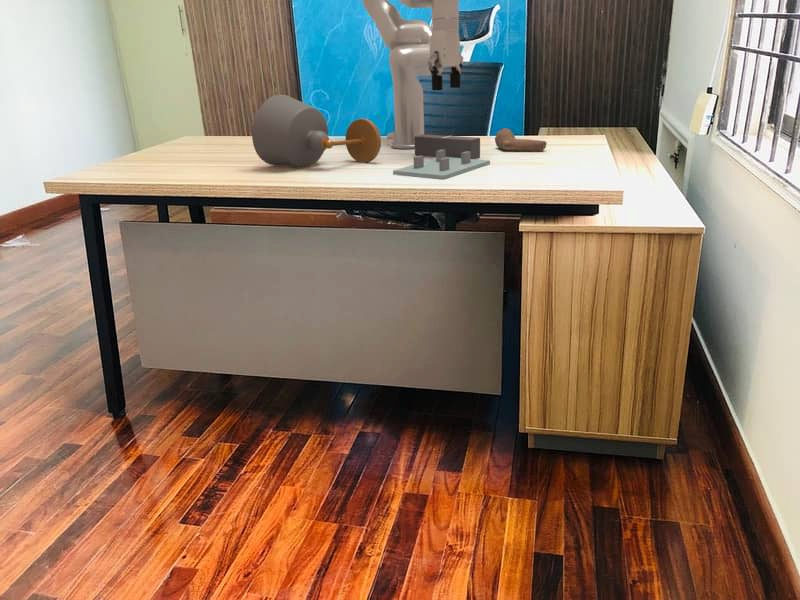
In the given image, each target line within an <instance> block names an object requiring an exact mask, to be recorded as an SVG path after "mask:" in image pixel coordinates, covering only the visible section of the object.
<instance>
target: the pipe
mask: <svg viewBox="0 0 800 600" xmlns="http://www.w3.org/2000/svg"><path fill="white" fill-rule="evenodd" d="M494 141H495V145H496V147H497V148H498V149H501V150H502V151H505V152H528V153H529V152H532V153H533V152H534V153H535V152H536V153H542V152H543V151H544V150H546V146H547V141H545V140H537V139H530V138H529V139H526V138H516V136H515V134H514V133H513V131H512V130H511V129H509V128H507V127H506V128H505V127H504V128H502V129H500V130H498V131H497V133H496V135H495V137H494Z"/></svg>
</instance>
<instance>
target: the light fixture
mask: <svg viewBox="0 0 800 600" xmlns="http://www.w3.org/2000/svg"><path fill="white" fill-rule="evenodd" d="M251 129H252V130H251V136H252V137H251V138H252V144H253V148H254V150H255V152H256V154H257V156H258V157H259V158H260V159H261V160H262V161H263V162H264V163H265V164H268V165H272V166H278V165H279V167H287V166H288V167H287V168H289V167H290V168H297V169H306V167H307V168H309V167H312V166H314V165H315V164H316V163H318V161H319V160H320V159H321V158H322V156H323V154H324V152H325V151H326V150H327V149H332V148H333V147H334V146H335V147H336V146H346V150H347V152H348V154H349V156H350V157H351V158H352V159H353V160H355V161H356V162H358V163H361V162H365V163H370V162H372V161H374V160H375V159H376V158H377V156H378V155H379V153H380V150H381V147H382V145H381V144H382V139H381V134H380V131H379V128H378V127H377V126H376V124H375V123H374V122H373V121H372V120H369V119H368V118H357V119H355V120H353V121H352V122H350V124H349V125H348V127H347V129H346V133H345V140H336V141H333V140H331V139H330V137H329V127H328V122H327V119H326V118H325V116H324V115H323V113H322V112H321V111H320V110H319V109H318V108H315V107H313V106H311V105H309V104H307V103H304V102H303V101H300V100H298V99H296V98H294V97H291V96H290V95H288V94H287V95H286V94H274V95H272V96H271V97H269V98H267V99H266V100H265V101H264V102H263V103H262V104H261V105H260V107H259V108H258V110H257V111H256V114H255V116H254V120H253V124H252V128H251Z"/></svg>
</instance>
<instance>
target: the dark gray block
mask: <svg viewBox="0 0 800 600" xmlns="http://www.w3.org/2000/svg"><path fill="white" fill-rule="evenodd" d="M414 138H415V148H414V156H415V155H416V156H424V157H427V158H436V151H438V150H445V157H452V158H461V153H463V152H466V151H470V152H471V159H480V158H481V138H480V137H473V136H472V137H470V136H456V135H439V134H437V135H436V134H425V133H424V134H423V135H419V136H415V137H414ZM416 156H415V157H416Z"/></svg>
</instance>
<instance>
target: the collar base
mask: <svg viewBox="0 0 800 600" xmlns="http://www.w3.org/2000/svg"><path fill="white" fill-rule="evenodd" d="M424 157H425V156H414V157H413V164H412V165H409V166H405V167H401V168H397V169H394V170H392V175H395V174H397V175H398V176H407V177H414V178H415V177H417V178H427V179H437V180H446V179H448V178H453V177H455V176H459V175H461V174H464V173H467V172H470V171H473V170H476V169H480V168H482V167H486V166H488V165H490V164H491V160H489V159H479V158H477V159H471V152H470V151H466V152H463V153H461V158H452V157H445V150H438V151H436V157H434V158H432V159H429V160H426V161H424ZM397 175H396V176H397Z"/></svg>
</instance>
